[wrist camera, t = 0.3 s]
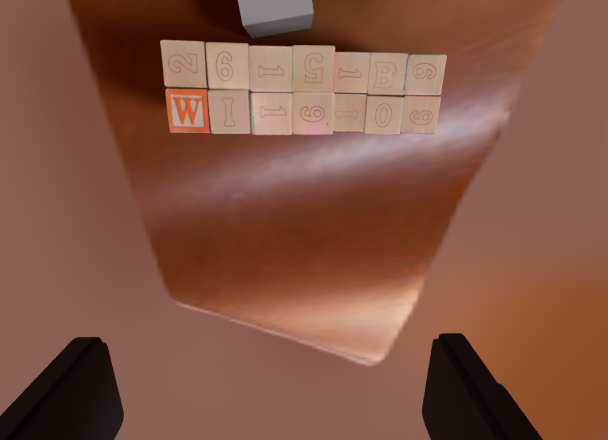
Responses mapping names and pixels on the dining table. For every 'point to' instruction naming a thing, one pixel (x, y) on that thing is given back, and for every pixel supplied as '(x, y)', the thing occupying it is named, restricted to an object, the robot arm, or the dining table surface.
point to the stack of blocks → (298, 89)
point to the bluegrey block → (275, 16)
